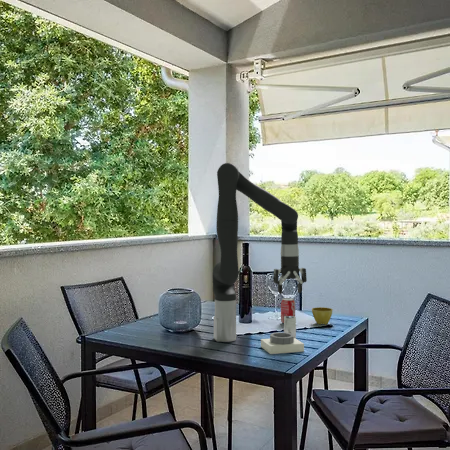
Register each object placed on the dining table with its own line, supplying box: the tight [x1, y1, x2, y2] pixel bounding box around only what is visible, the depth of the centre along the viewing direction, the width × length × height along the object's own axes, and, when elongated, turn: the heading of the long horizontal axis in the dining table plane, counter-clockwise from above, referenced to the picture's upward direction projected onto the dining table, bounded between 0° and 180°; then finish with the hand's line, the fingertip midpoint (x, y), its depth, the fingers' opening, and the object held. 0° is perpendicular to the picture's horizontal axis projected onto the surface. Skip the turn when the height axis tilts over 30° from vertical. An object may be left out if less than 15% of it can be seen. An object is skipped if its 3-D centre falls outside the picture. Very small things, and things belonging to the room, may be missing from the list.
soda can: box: [280, 297, 296, 323], centre depth 234 cm, size 7×7×12 cm
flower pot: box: [311, 306, 333, 325], centre depth 233 cm, size 10×10×7 cm
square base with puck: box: [260, 331, 305, 355], centre depth 188 cm, size 14×11×6 cm
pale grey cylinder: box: [283, 316, 297, 339], centre depth 201 cm, size 5×5×10 cm
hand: (290, 292), depth 201 cm, fingers open, 8 cm apart
